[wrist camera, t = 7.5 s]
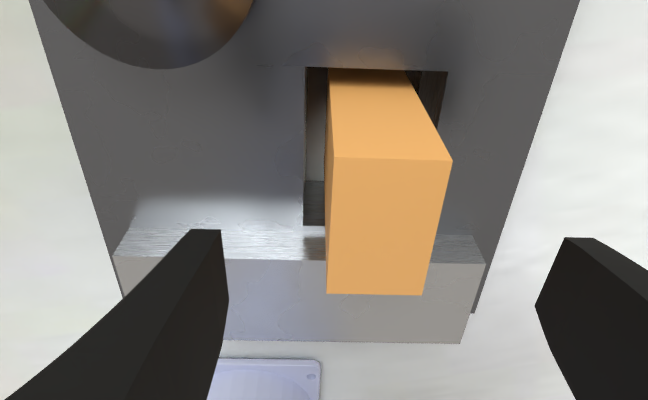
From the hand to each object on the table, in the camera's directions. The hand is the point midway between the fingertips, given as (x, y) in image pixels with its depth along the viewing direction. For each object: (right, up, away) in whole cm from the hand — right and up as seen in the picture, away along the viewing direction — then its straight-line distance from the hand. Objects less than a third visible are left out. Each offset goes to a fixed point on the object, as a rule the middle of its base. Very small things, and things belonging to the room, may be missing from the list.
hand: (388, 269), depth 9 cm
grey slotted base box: (-2, +5, +6) cm, 8 cm away
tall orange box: (0, +5, +7) cm, 8 cm away
